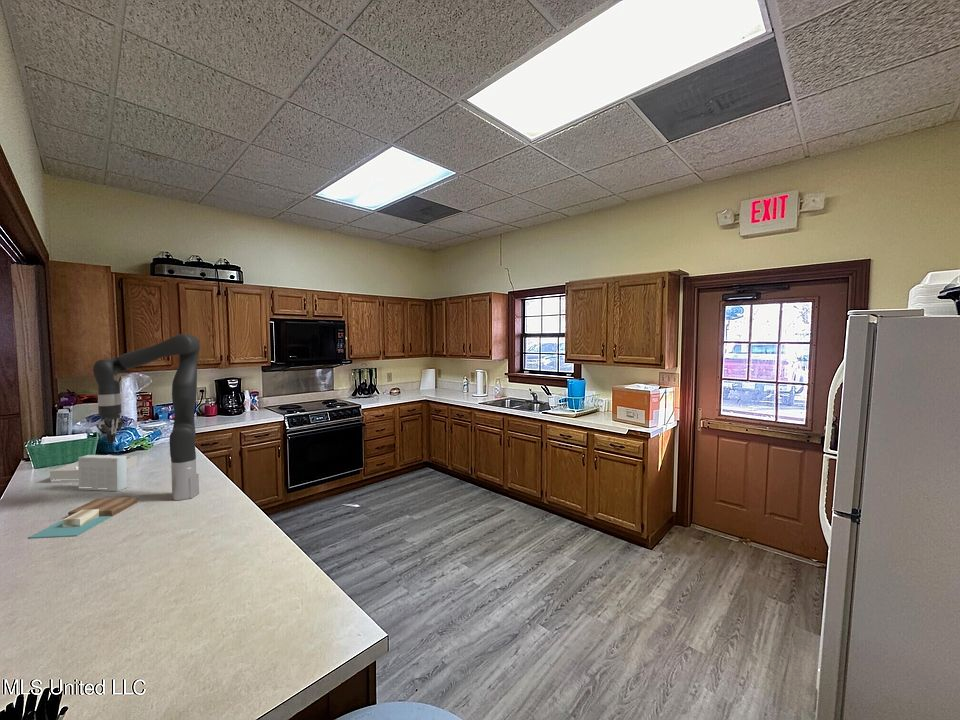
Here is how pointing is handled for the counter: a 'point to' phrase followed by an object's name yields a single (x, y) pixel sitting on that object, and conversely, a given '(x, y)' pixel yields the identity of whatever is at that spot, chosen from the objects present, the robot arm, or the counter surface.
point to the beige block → (80, 518)
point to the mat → (68, 529)
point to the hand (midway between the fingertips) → (111, 442)
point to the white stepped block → (72, 473)
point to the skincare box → (102, 472)
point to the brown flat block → (107, 505)
